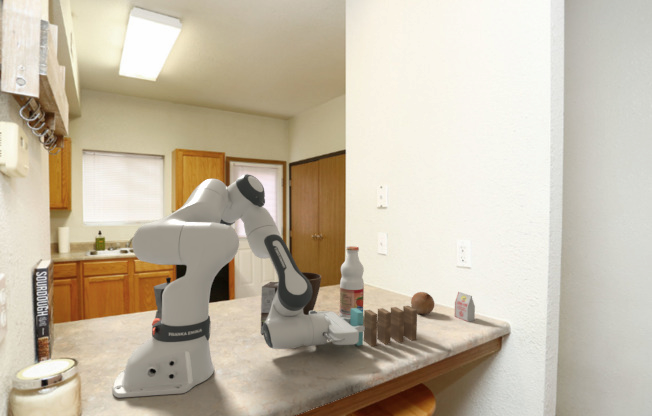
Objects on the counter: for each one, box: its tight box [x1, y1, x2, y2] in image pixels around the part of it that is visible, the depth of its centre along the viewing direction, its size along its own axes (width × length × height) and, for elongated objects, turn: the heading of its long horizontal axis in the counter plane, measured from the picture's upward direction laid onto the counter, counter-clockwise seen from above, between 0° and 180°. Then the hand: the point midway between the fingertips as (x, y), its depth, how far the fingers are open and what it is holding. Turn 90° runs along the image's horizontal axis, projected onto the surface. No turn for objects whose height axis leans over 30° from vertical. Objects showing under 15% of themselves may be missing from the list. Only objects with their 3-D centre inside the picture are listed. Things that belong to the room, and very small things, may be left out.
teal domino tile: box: [350, 308, 364, 346], centre depth 106 cm, size 2×5×10 cm, turn 21°
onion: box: [410, 291, 435, 315], centre depth 140 cm, size 10×9×10 cm
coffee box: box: [260, 281, 278, 335], centre depth 118 cm, size 9×6×16 cm
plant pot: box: [301, 271, 322, 315], centre depth 134 cm, size 15×15×16 cm
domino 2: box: [377, 308, 392, 345], centre depth 109 cm, size 2×5×10 cm, turn 21°
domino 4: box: [402, 305, 418, 342], centre depth 113 cm, size 2×5×10 cm, turn 21°
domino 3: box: [390, 306, 405, 343], centre depth 111 cm, size 2×5×10 cm, turn 21°
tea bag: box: [454, 291, 476, 323], centre depth 134 cm, size 4×7×10 cm, turn 22°
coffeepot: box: [153, 276, 172, 320], centre depth 115 cm, size 15×9×18 cm, turn 14°
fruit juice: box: [339, 246, 365, 318], centre depth 133 cm, size 9×9×28 cm
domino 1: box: [363, 309, 378, 348], centre depth 107 cm, size 2×5×10 cm, turn 21°
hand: (358, 324), depth 106 cm, fingers closed on teal domino tile, 5 cm apart
